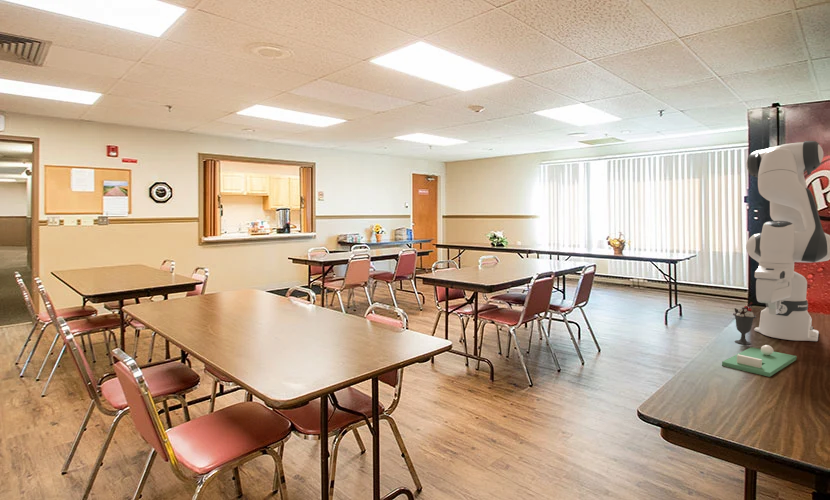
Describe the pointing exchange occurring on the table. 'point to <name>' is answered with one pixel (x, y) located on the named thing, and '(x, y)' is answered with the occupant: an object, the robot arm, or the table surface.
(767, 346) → the ball
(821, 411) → the table surface
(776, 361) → the green
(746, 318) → the sundae
